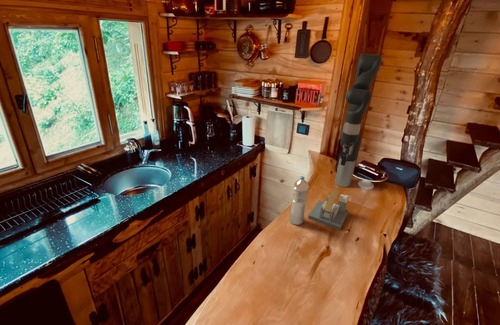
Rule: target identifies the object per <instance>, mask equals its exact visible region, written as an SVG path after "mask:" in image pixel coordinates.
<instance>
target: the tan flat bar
mask: <svg viewBox="0 0 500 325" xmlns="http://www.w3.org/2000/svg"><path fill="white" fill-rule="evenodd" d="M339 192H340V190H339V189H336V188H332V190H331V193H330V194H329V195H330V197H329V199H328V201H327V204H326V206H325V208H324V212H327V213H330V212H331V209H332V207H333V204H335V201H336V199H337V198H338V195H339Z"/></svg>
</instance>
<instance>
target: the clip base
mask: <svg viewBox="0 0 500 325" xmlns="http://www.w3.org/2000/svg"><path fill="white" fill-rule="evenodd" d="M329 197H330V194H328V195H327V197H326V200H325V201H321V200H318V201H317V203H316V204H315V206H314V207H313V208H312V209H311V211H310V213H308V216H307V219H308V220H311V221H314V222H317V223H319V224H321V225H323V226H327V227H330V228H332V229H335V230H337V231H341V229H342V227H343V225H344V223H345V221H346V219H347V217H348V215H349V211H350V210H348V209H347V206H348V203H349V200H348V201H347V203H344V202H341V201H339V200H338V202H337V204H336V203H334V204H333V207H332V209H331V212H330V213H327V212H324V208H325V206H326V204H327V201H328V199H329Z"/></svg>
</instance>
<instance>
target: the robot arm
mask: <svg viewBox="0 0 500 325" xmlns="http://www.w3.org/2000/svg"><path fill="white" fill-rule="evenodd" d="M381 65H382V56H381V55H379V54H373V53H371V54H370V53H361V54H360V55H359V58H358V61H357V65H356V71H355V78H354V83H353V86H350V88H349V89H348V90H347V92H346V94H345V101H346V102H347V104H348V109H347V111H346V116H345V121H344V124H343V127H342V133H341V138H340V141H339V142H340V146H341V147H342V148H341V152H340V157H339V161H338V164H337V165H338V166H337V171H336V175H335V178H334V179H335V180H334V183H335V185H337V186H340V187H341V188H342V187H343V188H346V187H348V188H349V187H350V186H351V184H352V180H353V179H352V178H353V176H354V175H353V174H354V170H355V166H356V162H357V158H358V154H359V150H360V147H361V144H362V139H363V137H362V134H360V131H361V124H362V119H363V115H364V114H365V113H366V111H367V107H368V105H369V103H370V102H371V99H372V92H371V91H370V88H371V86H372V83H373V81H374V80H375V78H376V76H377V74H378V72H379V71H380V69H381Z"/></svg>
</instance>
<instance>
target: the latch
mask: <svg viewBox="0 0 500 325" xmlns="http://www.w3.org/2000/svg"><path fill="white" fill-rule="evenodd" d="M349 198H350V196H349V195H348V194H345V195H344V194H343V193H342V194H339V198H338V201H341V202H344V203H347V201H348V202H349ZM347 204H348V203H347Z"/></svg>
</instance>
